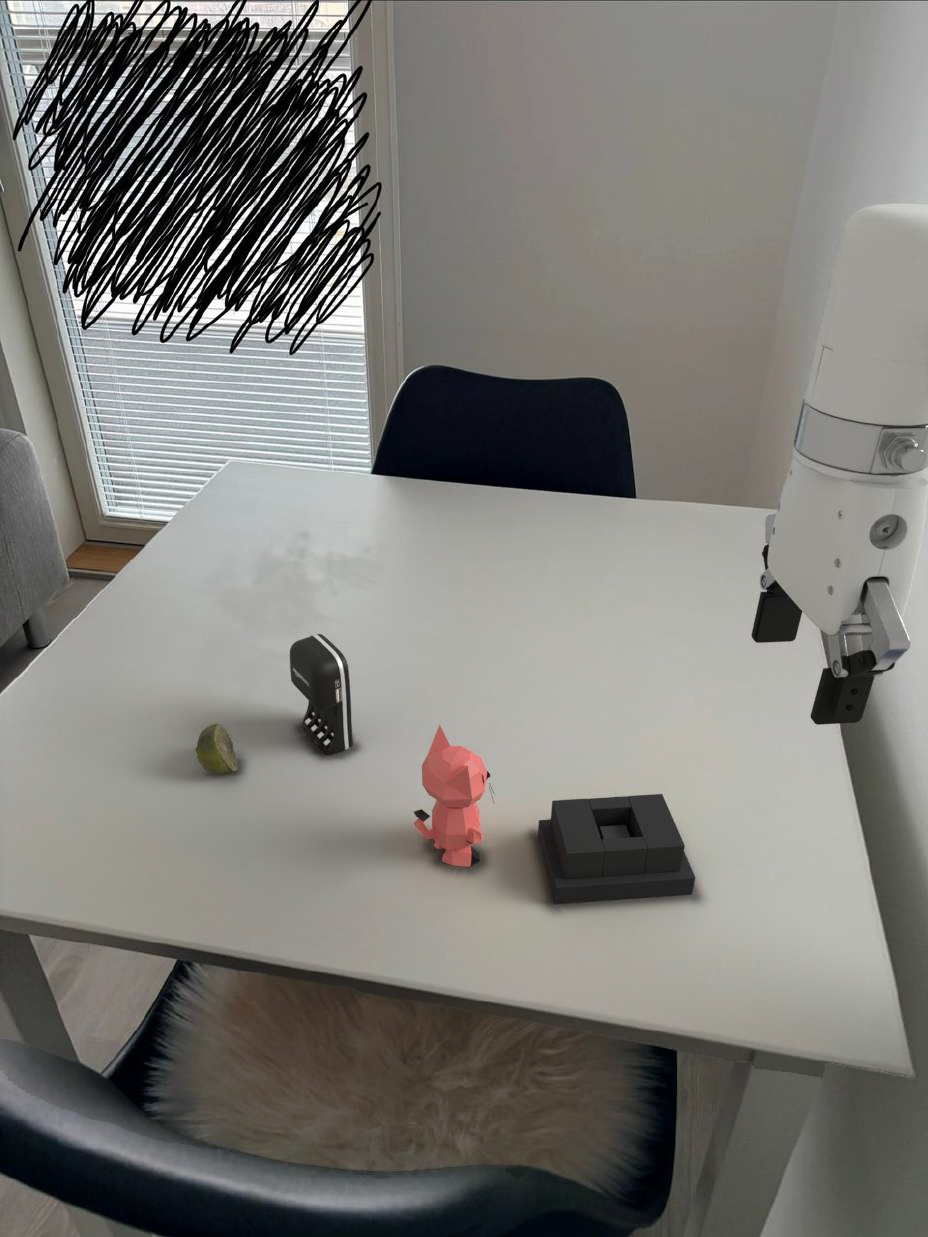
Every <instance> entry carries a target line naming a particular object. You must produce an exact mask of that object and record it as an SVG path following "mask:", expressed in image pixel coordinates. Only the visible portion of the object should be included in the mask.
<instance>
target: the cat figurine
mask: <svg viewBox="0 0 928 1237" xmlns="http://www.w3.org/2000/svg"><path fill="white" fill-rule="evenodd" d="M489 778H491V773H490V772H489V771H488V770H487V768H486V766H485V764H484V762H483V760H482V757H481V756H479V755H477V754H476V753H475V752H473V751H472V750H470V749H468V748H466V747H463V746H462V745H451V744H450V742H449V740H448V738H447V737H446V734H445V732H444V729H443V728H442V726H441V724H440V723H439V724H438V727H437V730H436V731H435V734H434V737H433V740H432V742H431V745H430V747H429V750H428V753H427V755H426V757H425V759H424V760H423V762H422V764H421V785H422V787H423V789H424V790H425V791H426V793H427V794H428V796H430V797H431V798H433V799H435V803H434V805H433V807H432V809H431V815H430V814H429V813H427V812H426V811H425V810H423V808H421V809H417V810H415V811H413V813H414V815H415V817H416V818H417V819H416V820H414V822H413V825H414V827H415V829H416V830H417V831H418V832H419V833H420V834H421V835H422V836H423V838H425V840H430V839H433V841H434V844H433V847H434V848H435V849H436V850H446V851H445V852H444V853H443V855H442V856H441V861H442V863H444V864H448V865H450V866H452V867H453V866H454V867H467V868H471V867H473V866H474V865H476V864H477V863H479V862H480V861H481V858H480V853H479V852H478V851H477V850H476V849H475V848H473V847H472V845H475V844H477V843H481V842H482V841H483V831H482V828H481V821H480V820H481V818H480V809H479V807H478V804H477V802H478V801H479V800H480V799H481V798H482V797H483V794H484V793H486V792H485V791H486V787H487V780H488V779H489ZM488 784H489V786H488V788H489V791H490V795H491V799H492V803H493V804H495V800H494V798H493V794H495V791H494V789H493V787H492V786H491V783H490V782H489V783H488ZM492 793H493V794H492ZM430 817H431V829H429V830H428V828H427V826H426V825H425V822H426V821H427V820H428V819H429V818H430Z"/></svg>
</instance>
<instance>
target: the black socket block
mask: <svg viewBox="0 0 928 1237" xmlns="http://www.w3.org/2000/svg"><path fill="white" fill-rule="evenodd" d="M550 819H551V822H550V827H551V830H552V834H553V838H554V842H555V845H556V849H557V853H558V857H559V861H560V864H561V868H562V872H563V876H564V879H578V878H592V877H604V876H619V875H633V874H649V873H663V872H677V871H680V868H681V863H682V858H683V853H684V852H685V848H686V845H685V843H684V841H683V839H682V835H681V834H680V831H679V829H678V826H677V825H676V822H675V820H674V818H673V814H672V813H671V810H670V809H669V806H668V803H667V802H666V799H665V798H664V795H663V793H654V794H639V795H638V794H637V795H627V796H626V795H625V796H608V797H593V798H574V799H572V798H571V799H556V800H552V801H551V812H550ZM616 825H626V827H627V829H628V832H629V835H630V837H629V838H614V839H602V840H601V838H600V834H599V827H600V826H616Z"/></svg>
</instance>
